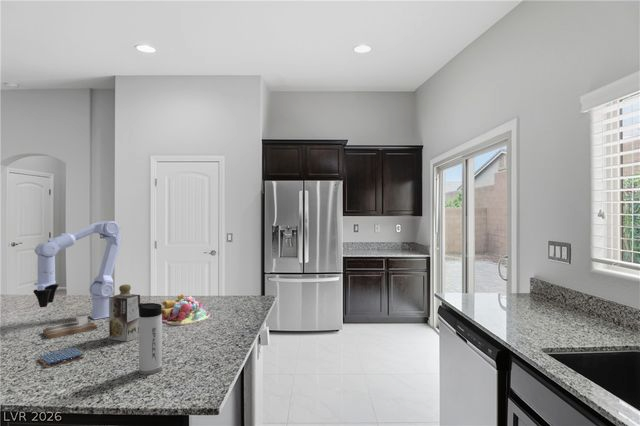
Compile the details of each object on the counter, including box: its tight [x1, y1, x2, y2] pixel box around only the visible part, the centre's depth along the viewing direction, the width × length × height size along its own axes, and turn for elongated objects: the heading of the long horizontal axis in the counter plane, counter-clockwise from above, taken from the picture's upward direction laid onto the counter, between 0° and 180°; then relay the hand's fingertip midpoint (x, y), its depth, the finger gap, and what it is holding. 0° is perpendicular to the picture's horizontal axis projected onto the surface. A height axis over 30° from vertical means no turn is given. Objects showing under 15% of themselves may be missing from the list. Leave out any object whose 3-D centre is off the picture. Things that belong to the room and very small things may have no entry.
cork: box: [118, 284, 132, 294], centre depth 182 cm, size 6×6×11 cm
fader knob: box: [75, 311, 89, 325], centre depth 146 cm, size 3×4×4 cm
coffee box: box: [108, 293, 141, 342], centre depth 135 cm, size 9×6×16 cm
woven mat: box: [38, 346, 86, 368], centre depth 115 cm, size 10×11×2 cm
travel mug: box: [138, 302, 163, 375], centre depth 107 cm, size 6×7×20 cm
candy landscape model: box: [161, 293, 211, 326], centre depth 163 cm, size 25×24×9 cm
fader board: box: [42, 318, 98, 340], centre depth 143 cm, size 16×10×2 cm, turn 137°
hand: (46, 304), depth 145 cm, fingers open, 7 cm apart
